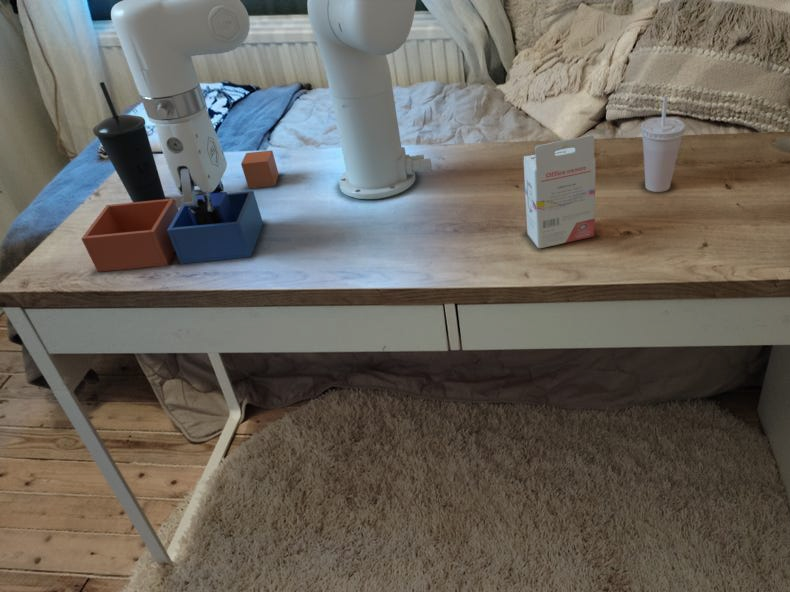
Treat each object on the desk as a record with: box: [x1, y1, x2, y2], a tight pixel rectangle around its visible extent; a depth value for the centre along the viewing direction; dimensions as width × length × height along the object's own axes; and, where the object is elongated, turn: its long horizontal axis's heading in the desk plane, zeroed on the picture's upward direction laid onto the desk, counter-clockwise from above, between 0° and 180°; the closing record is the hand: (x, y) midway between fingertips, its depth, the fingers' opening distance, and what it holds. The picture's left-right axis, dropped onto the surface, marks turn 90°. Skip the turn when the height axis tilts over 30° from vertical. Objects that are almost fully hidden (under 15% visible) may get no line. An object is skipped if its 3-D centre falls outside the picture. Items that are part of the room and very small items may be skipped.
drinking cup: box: [92, 81, 167, 202], centre depth 111 cm, size 8×8×20 cm
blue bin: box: [167, 190, 264, 265], centre depth 104 cm, size 10×10×6 cm
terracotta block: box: [240, 150, 280, 189], centre depth 120 cm, size 4×4×4 cm
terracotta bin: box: [81, 198, 179, 273], centre depth 104 cm, size 10×10×6 cm
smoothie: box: [639, 95, 686, 193], centre depth 105 cm, size 6×6×14 cm
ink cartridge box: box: [523, 134, 597, 249], centre depth 95 cm, size 9×5×15 cm, turn 106°
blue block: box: [188, 191, 235, 226], centre depth 103 cm, size 4×4×4 cm
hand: (217, 225), depth 104 cm, fingers closed on blue block, 4 cm apart
